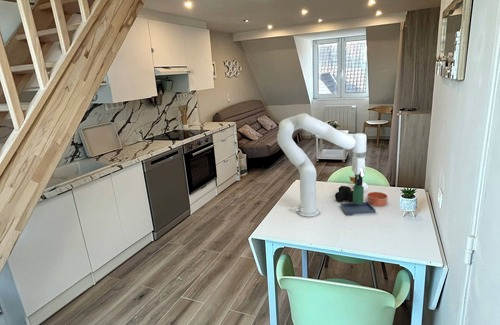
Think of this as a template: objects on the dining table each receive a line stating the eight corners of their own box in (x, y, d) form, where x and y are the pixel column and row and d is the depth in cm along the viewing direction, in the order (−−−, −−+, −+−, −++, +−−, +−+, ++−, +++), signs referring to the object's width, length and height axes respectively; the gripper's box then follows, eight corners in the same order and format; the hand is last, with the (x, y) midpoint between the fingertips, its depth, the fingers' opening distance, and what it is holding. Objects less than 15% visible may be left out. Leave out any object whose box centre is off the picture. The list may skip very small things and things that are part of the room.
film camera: (330, 197, 213) (330, 184, 210) (343, 194, 215) (343, 182, 212) (343, 205, 198) (343, 192, 196) (356, 202, 201) (356, 189, 198)
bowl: (371, 208, 192) (371, 199, 190) (364, 200, 204) (364, 192, 202) (390, 206, 192) (391, 198, 190) (382, 199, 203) (382, 191, 202)
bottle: (354, 204, 186) (355, 177, 181) (351, 200, 192) (352, 174, 187) (364, 204, 186) (365, 176, 181) (361, 200, 192) (362, 173, 187)
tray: (346, 215, 185) (346, 211, 184) (340, 206, 196) (340, 203, 196) (375, 213, 184) (375, 209, 184) (367, 205, 196) (368, 201, 195)
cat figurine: (367, 180, 211) (350, 169, 226) (354, 190, 210) (338, 179, 225) (372, 192, 218) (356, 180, 233) (360, 202, 217) (344, 190, 232)
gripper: (348, 151, 188) (348, 180, 194) (357, 158, 173) (356, 189, 178) (360, 150, 188) (360, 179, 193) (370, 157, 173) (369, 188, 178)
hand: (358, 183), depth 186 cm, fingers closed on bottle, 2 cm apart
